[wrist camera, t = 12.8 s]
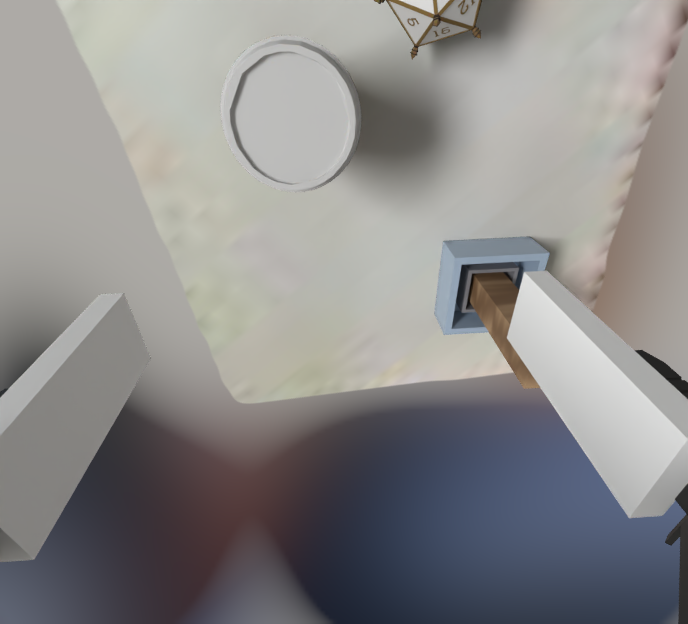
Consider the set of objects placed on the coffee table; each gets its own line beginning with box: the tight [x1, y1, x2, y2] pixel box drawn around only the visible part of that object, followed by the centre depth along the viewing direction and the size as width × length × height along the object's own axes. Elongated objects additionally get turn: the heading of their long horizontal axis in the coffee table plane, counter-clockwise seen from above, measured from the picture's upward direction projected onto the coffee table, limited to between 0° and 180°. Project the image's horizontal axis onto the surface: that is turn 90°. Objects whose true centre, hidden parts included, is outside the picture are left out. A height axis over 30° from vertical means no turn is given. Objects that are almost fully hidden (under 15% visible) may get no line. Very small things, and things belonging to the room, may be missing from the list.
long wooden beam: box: [468, 272, 540, 388], centre depth 38 cm, size 4×4×16 cm
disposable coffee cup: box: [220, 35, 361, 192], centre depth 29 cm, size 10×10×12 cm
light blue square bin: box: [434, 237, 550, 335], centre depth 43 cm, size 10×10×4 cm
